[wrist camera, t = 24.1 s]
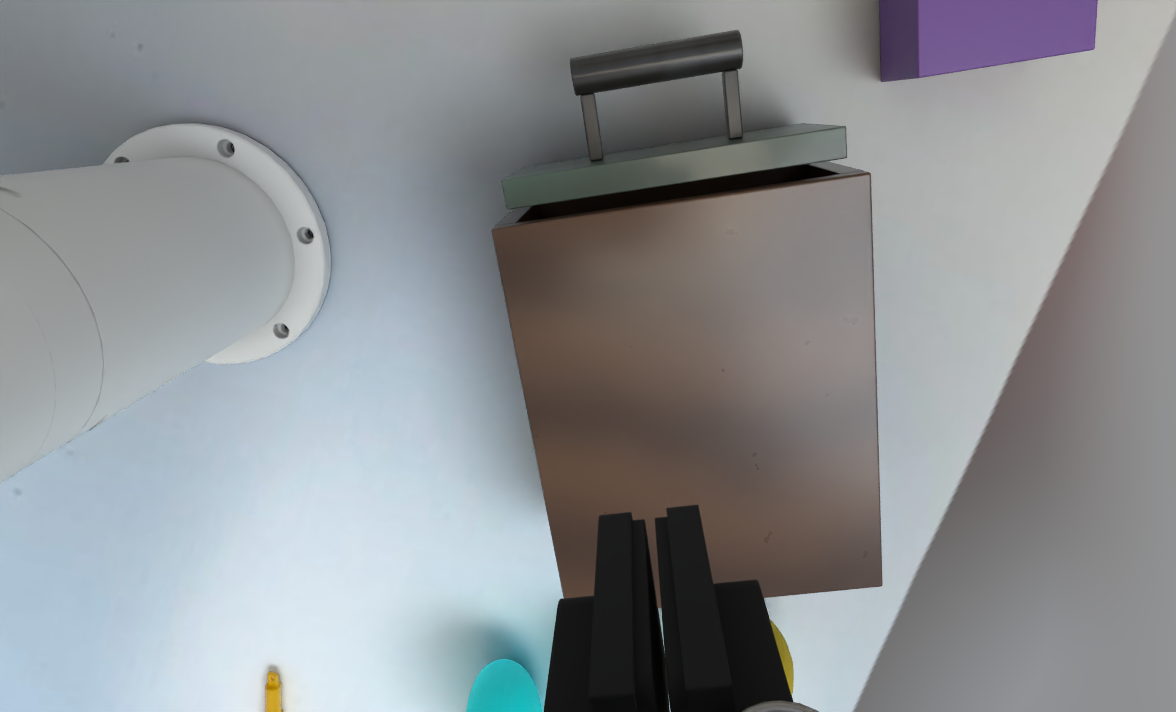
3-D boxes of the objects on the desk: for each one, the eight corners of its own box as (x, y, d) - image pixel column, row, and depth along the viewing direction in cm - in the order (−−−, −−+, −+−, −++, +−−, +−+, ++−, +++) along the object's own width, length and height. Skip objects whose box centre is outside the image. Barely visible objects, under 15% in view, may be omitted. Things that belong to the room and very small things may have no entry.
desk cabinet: (520, 202, 37) (490, 229, 29) (813, 157, 35) (871, 172, 27) (578, 518, 43) (567, 617, 34) (830, 491, 41) (883, 587, 33)
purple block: (880, 82, 34) (918, 77, 30) (878, -15, 33) (917, -34, 29) (1034, 57, 34) (1095, 49, 29) (1037, -43, 32) (1102, -67, 28)
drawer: (507, 75, 34) (479, 67, 27) (798, 26, 33) (841, 5, 26) (579, 481, 41) (571, 552, 34) (822, 454, 40) (861, 521, 33)
